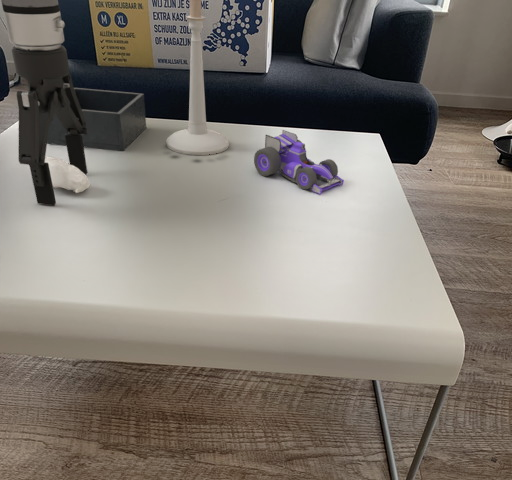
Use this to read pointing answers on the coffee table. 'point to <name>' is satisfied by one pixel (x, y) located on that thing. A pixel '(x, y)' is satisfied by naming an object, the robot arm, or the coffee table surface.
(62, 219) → the coffee table surface
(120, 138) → the dark grey open box
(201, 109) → the candlestick
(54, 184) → the white lumpy piece
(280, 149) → the toy race car
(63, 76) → the robot arm
